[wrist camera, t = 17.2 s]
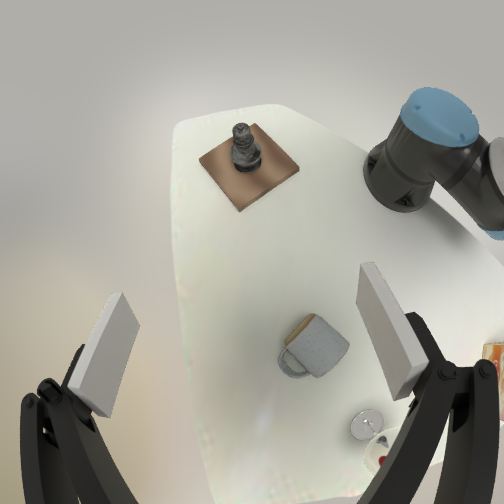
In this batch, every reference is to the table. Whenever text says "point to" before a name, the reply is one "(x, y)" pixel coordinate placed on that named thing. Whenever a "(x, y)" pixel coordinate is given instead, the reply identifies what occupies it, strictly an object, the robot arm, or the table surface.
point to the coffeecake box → (500, 356)
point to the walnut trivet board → (254, 184)
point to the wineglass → (380, 444)
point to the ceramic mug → (314, 347)
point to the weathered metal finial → (245, 150)
